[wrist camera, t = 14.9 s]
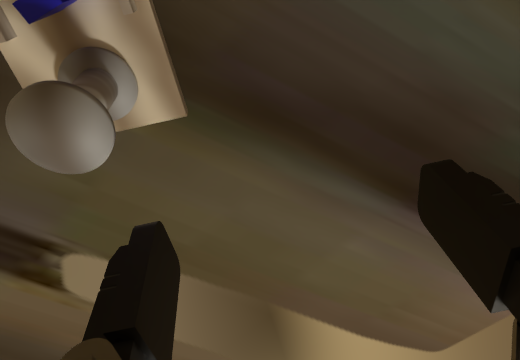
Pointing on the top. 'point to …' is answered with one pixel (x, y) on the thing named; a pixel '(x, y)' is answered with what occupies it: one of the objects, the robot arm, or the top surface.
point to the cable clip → (40, 8)
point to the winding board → (104, 33)
